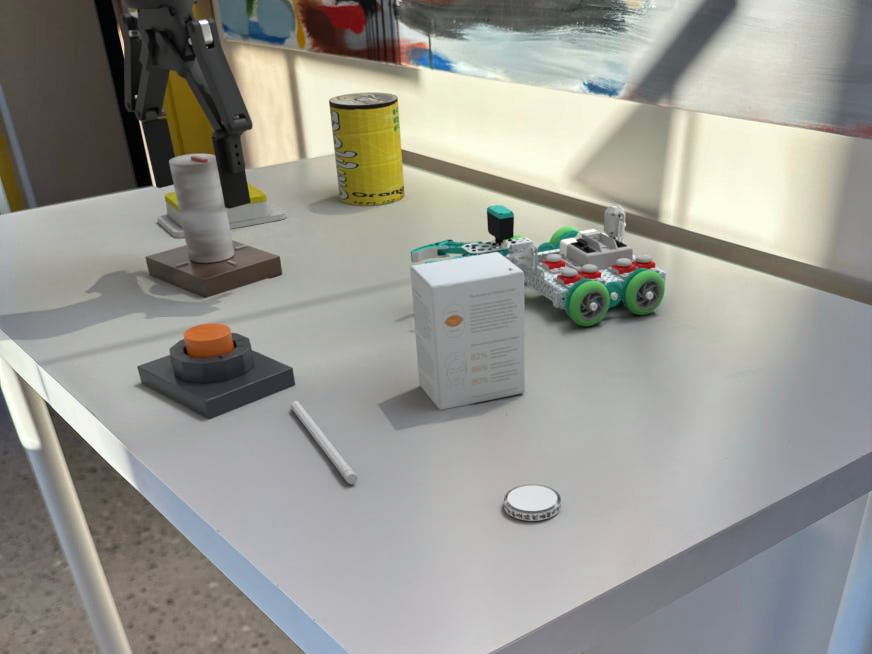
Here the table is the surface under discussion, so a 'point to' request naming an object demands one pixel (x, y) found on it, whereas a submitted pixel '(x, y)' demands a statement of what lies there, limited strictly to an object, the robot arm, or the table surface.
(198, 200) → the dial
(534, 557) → the table surface
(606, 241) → the robot kit
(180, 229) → the yellow box on plate
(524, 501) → the white flat disc
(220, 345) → the push knob
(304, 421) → the white rod
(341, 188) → the beverage can
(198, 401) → the button housing
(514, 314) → the small box
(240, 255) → the dial panel
